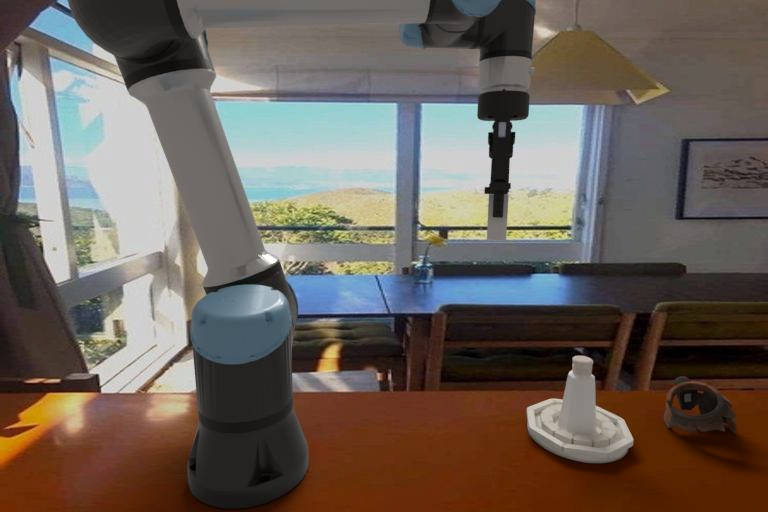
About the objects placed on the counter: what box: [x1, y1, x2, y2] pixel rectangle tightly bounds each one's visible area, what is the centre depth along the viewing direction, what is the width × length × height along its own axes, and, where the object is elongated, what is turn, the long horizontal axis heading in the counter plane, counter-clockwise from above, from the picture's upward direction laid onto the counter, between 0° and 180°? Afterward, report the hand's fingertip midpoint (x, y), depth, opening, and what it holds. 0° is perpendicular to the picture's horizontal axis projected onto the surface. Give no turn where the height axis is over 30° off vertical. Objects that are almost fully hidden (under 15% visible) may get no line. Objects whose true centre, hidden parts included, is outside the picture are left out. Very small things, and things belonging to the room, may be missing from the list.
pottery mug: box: [663, 375, 738, 435], centre depth 72 cm, size 12×10×8 cm
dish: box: [526, 398, 635, 464], centre depth 70 cm, size 14×14×2 cm
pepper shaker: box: [558, 355, 597, 435], centre depth 69 cm, size 5×5×11 cm
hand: (496, 233), depth 74 cm, fingers open, 13 cm apart
